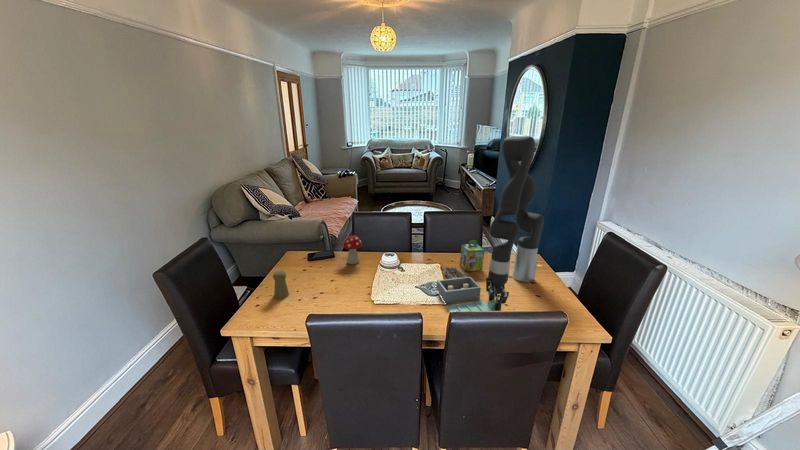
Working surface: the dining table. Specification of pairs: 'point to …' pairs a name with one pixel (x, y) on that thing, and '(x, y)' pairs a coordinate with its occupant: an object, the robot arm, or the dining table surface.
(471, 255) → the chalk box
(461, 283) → the tub
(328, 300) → the dining table surface
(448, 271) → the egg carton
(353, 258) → the decorative mushroom
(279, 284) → the olive pawn figure
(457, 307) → the lid
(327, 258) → the dining table surface
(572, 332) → the dining table surface
